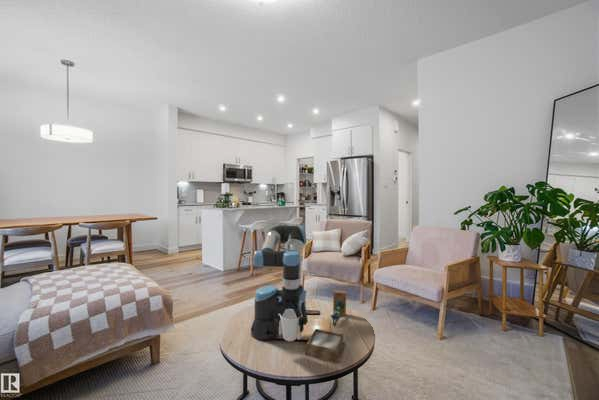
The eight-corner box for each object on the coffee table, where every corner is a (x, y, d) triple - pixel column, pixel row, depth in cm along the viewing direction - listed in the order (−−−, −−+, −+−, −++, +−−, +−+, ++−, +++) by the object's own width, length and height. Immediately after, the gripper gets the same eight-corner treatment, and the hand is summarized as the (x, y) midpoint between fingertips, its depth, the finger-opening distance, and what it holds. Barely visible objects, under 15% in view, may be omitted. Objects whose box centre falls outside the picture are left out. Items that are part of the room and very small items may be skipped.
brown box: (304, 354, 119) (304, 343, 118) (313, 338, 132) (313, 328, 132) (339, 363, 113) (339, 351, 113) (345, 345, 126) (345, 334, 126)
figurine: (333, 312, 162) (346, 313, 160) (330, 326, 144) (345, 328, 143) (333, 289, 162) (346, 290, 160) (330, 301, 144) (344, 302, 142)
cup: (298, 345, 112) (299, 320, 112) (276, 342, 114) (276, 318, 114) (302, 333, 122) (303, 310, 122) (282, 330, 124) (282, 307, 124)
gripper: (266, 286, 117) (265, 335, 118) (311, 293, 110) (309, 345, 111) (273, 280, 124) (272, 326, 125) (316, 287, 117) (314, 336, 118)
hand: (290, 335), depth 118 cm, fingers closed on cup, 8 cm apart
